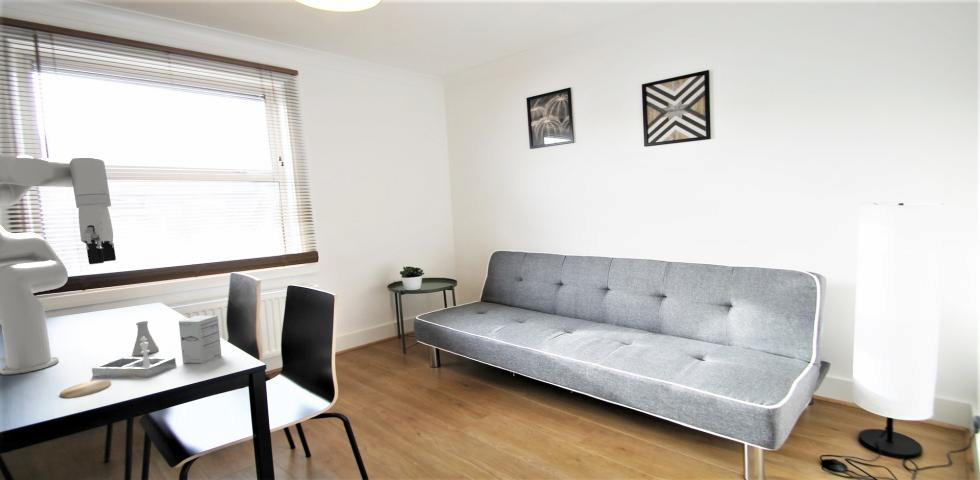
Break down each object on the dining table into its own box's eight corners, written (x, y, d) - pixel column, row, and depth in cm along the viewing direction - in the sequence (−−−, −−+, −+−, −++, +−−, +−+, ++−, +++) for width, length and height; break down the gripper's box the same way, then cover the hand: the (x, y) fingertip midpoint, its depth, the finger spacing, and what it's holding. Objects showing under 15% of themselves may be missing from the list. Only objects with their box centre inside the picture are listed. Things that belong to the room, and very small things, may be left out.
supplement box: (181, 363, 139) (177, 321, 138) (202, 354, 146) (198, 314, 145) (202, 364, 137) (198, 321, 136) (222, 355, 144) (218, 314, 143)
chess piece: (146, 374, 130) (142, 339, 129) (132, 374, 131) (127, 339, 130) (162, 368, 135) (158, 334, 134) (148, 368, 136) (144, 334, 135)
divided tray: (92, 376, 131) (91, 368, 131) (123, 365, 140) (122, 357, 140) (148, 377, 128) (147, 368, 128) (176, 365, 137) (175, 357, 137)
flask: (155, 347, 157) (151, 318, 156) (162, 351, 152) (159, 321, 151) (128, 354, 151) (124, 323, 150) (135, 357, 147) (131, 326, 146)
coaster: (49, 397, 117) (48, 395, 117) (89, 381, 127) (89, 379, 127) (82, 398, 116) (82, 396, 115) (121, 382, 125) (120, 380, 125)
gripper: (88, 204, 139) (98, 261, 140) (63, 201, 123) (73, 266, 124) (119, 202, 142) (128, 258, 143) (98, 199, 126) (108, 262, 127)
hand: (103, 262), depth 134 cm, fingers open, 9 cm apart
